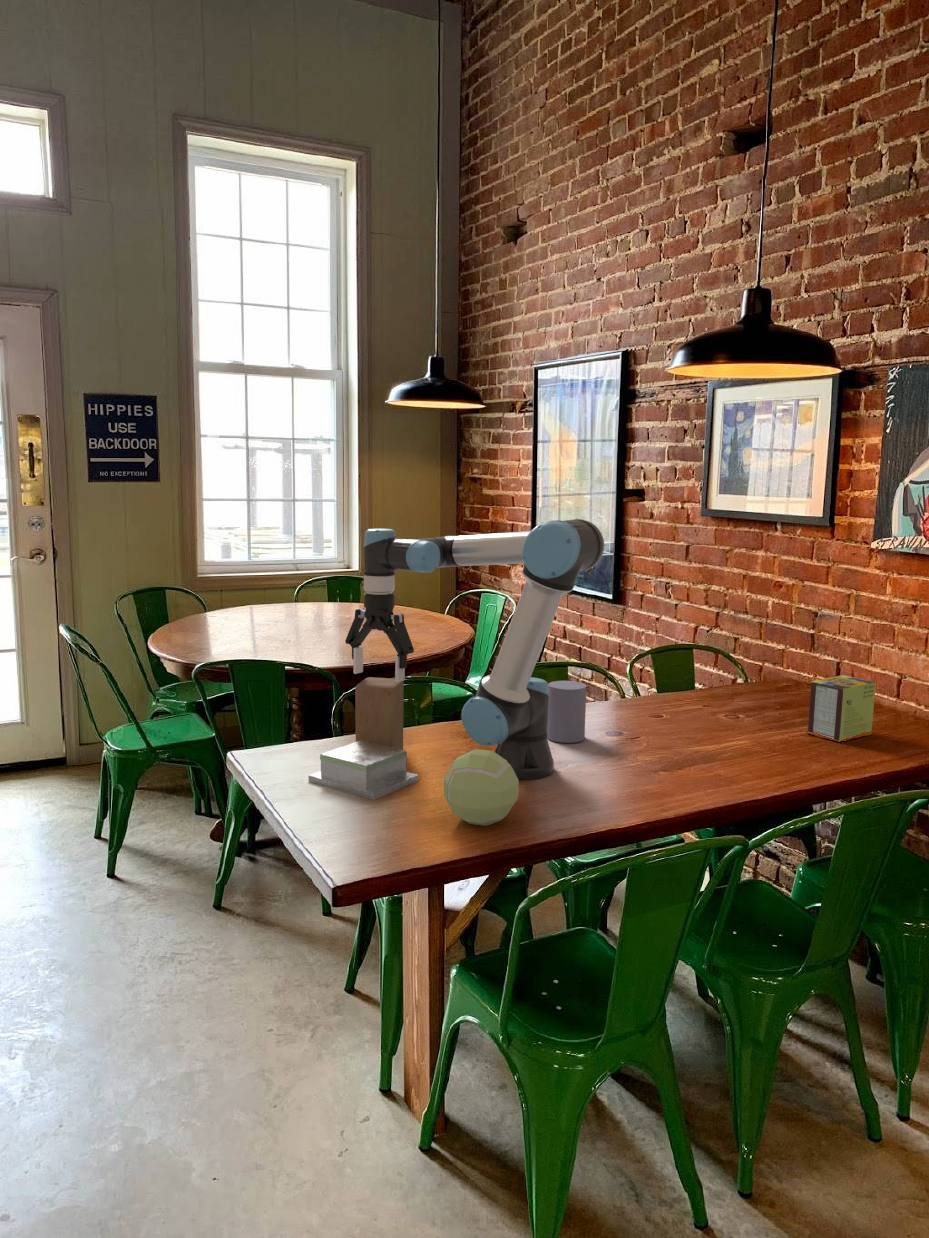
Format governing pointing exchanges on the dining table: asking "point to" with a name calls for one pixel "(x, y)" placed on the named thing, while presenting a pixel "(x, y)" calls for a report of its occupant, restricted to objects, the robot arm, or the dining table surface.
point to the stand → (364, 770)
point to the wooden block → (380, 712)
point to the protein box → (841, 707)
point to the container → (566, 711)
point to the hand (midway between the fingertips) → (378, 676)
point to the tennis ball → (481, 787)
